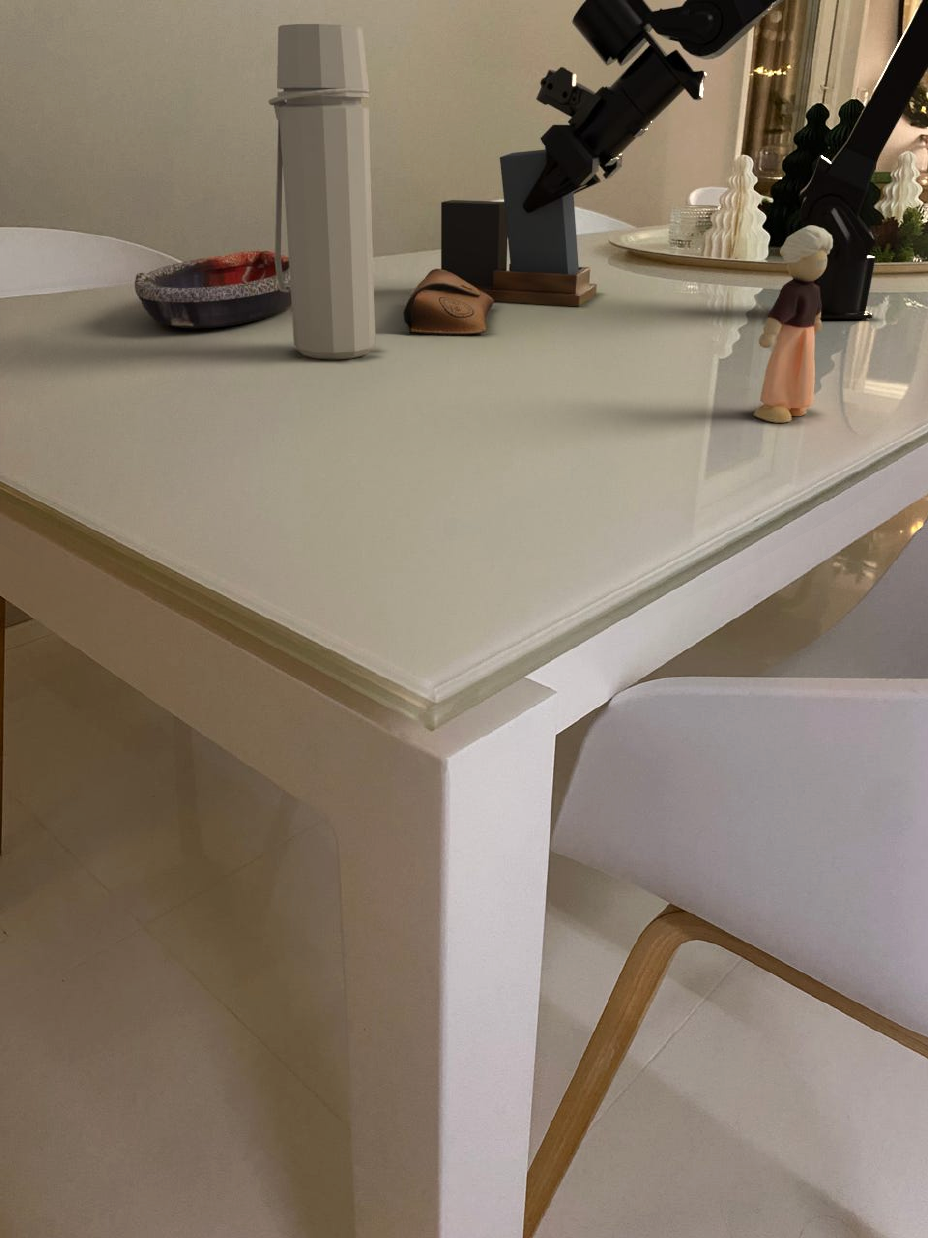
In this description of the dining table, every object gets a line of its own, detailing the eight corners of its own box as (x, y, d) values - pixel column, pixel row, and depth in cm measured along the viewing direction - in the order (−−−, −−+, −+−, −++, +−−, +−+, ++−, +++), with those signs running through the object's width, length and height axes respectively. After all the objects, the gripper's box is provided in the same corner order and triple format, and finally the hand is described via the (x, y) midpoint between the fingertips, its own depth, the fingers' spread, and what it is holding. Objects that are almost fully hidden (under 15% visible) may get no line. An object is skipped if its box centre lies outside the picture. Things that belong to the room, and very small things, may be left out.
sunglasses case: (491, 330, 97) (456, 266, 95) (429, 366, 99) (393, 305, 96) (495, 300, 113) (466, 246, 111) (442, 332, 115) (411, 279, 113)
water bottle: (392, 348, 91) (386, 30, 80) (348, 365, 85) (334, 21, 74) (306, 339, 95) (289, 32, 84) (257, 354, 88) (231, 24, 77)
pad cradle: (596, 294, 122) (602, 203, 117) (578, 306, 113) (584, 209, 109) (451, 285, 127) (452, 197, 122) (424, 296, 118) (424, 203, 114)
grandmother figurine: (795, 429, 69) (827, 231, 63) (740, 421, 70) (766, 227, 65) (824, 406, 75) (855, 223, 69) (772, 399, 76) (799, 219, 71)
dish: (95, 334, 96) (87, 279, 93) (215, 287, 123) (211, 244, 121) (252, 341, 93) (248, 285, 91) (339, 292, 121) (337, 248, 119)
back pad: (579, 275, 119) (570, 146, 112) (569, 283, 116) (559, 150, 109) (524, 278, 122) (512, 152, 115) (512, 286, 119) (499, 156, 112)
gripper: (602, 45, 115) (505, 150, 122) (566, 32, 99) (458, 154, 106) (664, 123, 116) (565, 222, 124) (639, 123, 100) (527, 237, 108)
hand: (530, 208), depth 115 cm, fingers closed on back pad, 4 cm apart
